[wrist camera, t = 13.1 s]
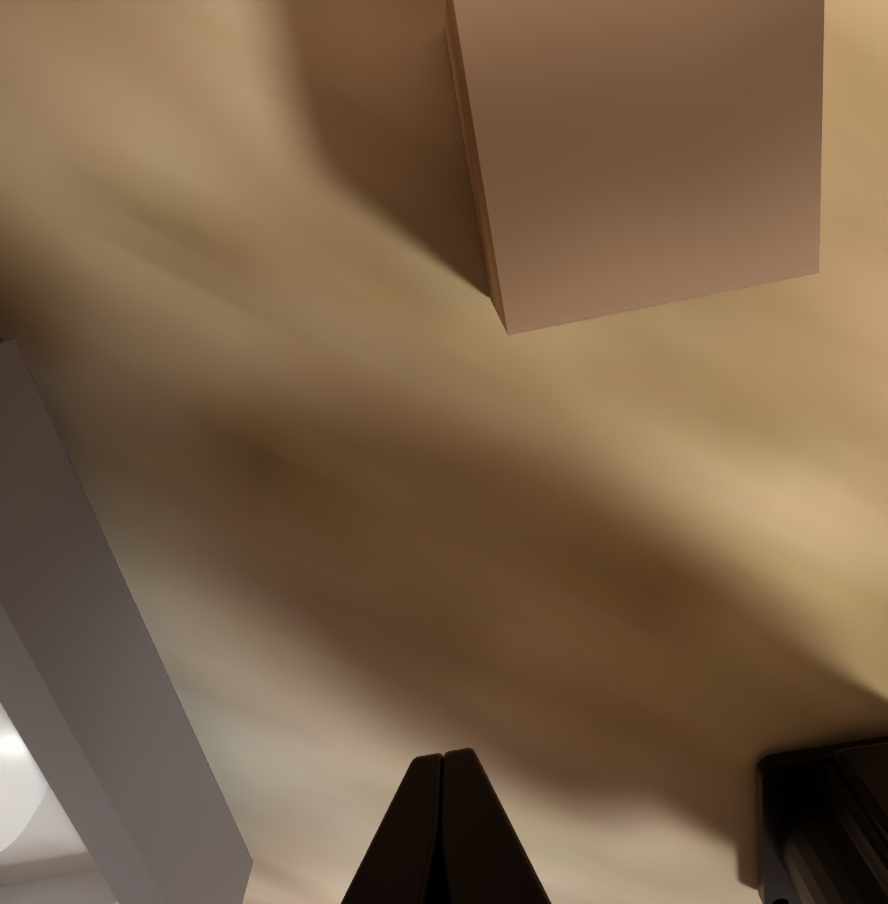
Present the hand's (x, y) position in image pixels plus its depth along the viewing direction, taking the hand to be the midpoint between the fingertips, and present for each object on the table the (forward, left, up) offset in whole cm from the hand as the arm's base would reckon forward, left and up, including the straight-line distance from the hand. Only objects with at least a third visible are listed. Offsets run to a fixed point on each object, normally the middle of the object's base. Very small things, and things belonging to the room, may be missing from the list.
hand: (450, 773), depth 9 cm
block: (+7, -4, -8) cm, 11 cm away
